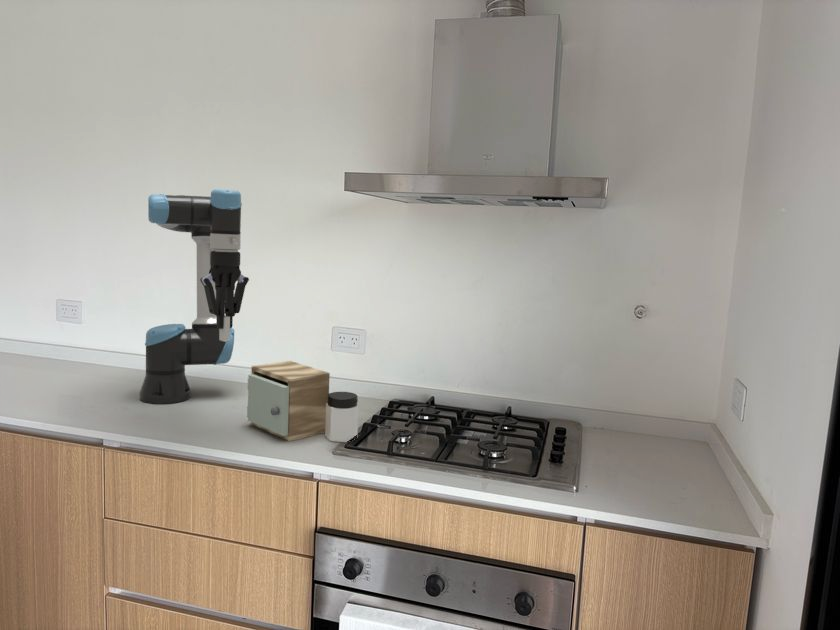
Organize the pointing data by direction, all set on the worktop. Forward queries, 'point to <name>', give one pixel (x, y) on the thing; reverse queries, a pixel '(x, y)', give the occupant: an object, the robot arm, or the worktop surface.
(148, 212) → the robot arm
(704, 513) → the worktop surface
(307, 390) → the cabinet
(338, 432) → the jar
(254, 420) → the door
